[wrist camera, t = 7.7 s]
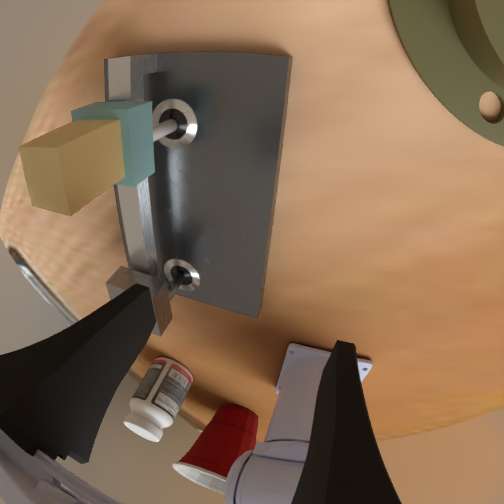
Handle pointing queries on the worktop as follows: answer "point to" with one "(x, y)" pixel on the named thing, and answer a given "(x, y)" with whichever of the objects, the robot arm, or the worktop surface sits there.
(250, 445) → the plastic cup
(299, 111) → the worktop surface
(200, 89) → the hole plate
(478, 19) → the flange
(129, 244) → the rail
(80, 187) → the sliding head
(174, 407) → the pill bottle
